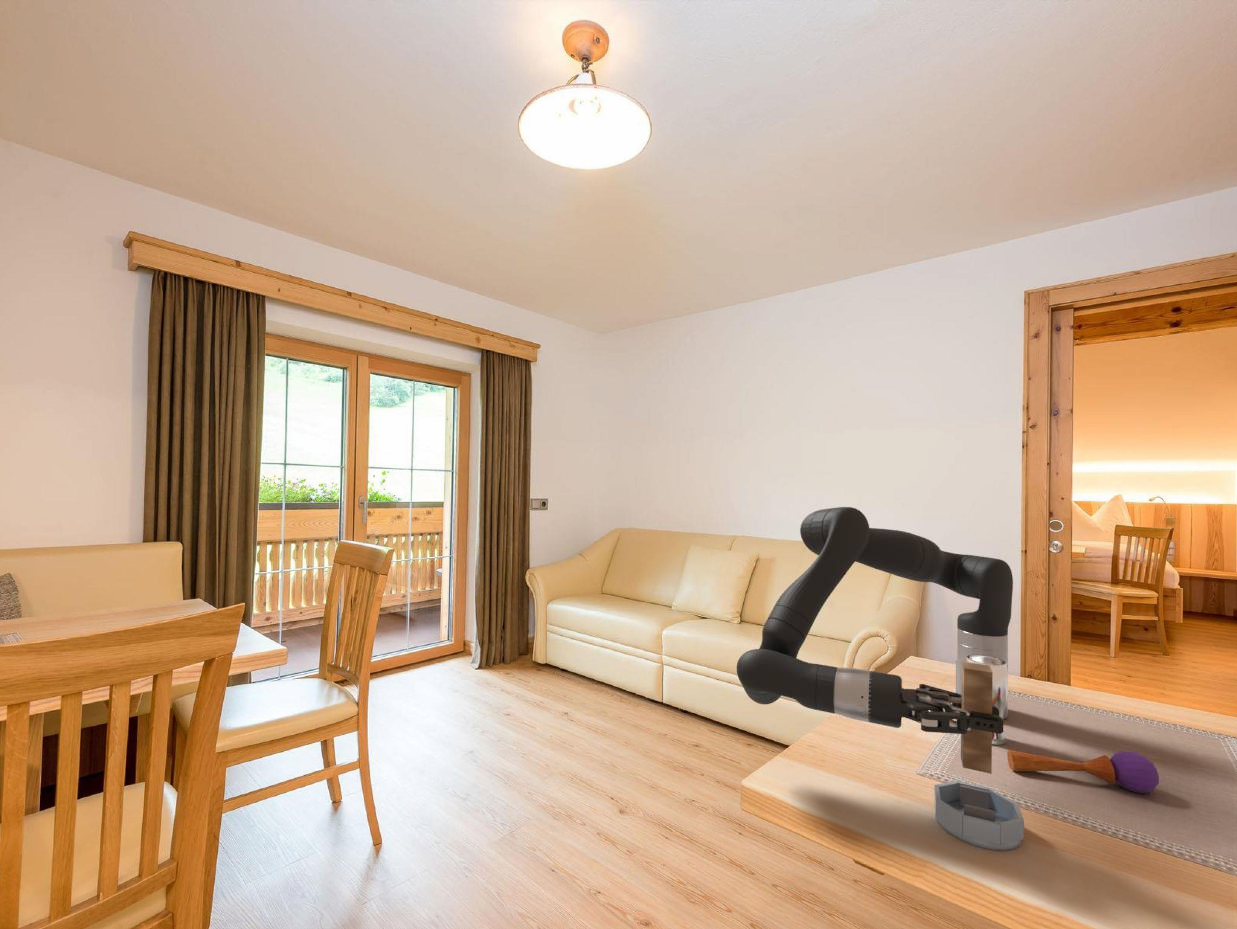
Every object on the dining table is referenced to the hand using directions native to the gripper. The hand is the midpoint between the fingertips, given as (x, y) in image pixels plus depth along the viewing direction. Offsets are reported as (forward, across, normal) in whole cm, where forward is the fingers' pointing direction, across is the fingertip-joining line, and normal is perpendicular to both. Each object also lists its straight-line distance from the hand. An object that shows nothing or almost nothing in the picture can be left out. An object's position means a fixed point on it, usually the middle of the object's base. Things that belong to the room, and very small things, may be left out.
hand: (999, 719), depth 79 cm
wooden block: (-3, 0, +7) cm, 8 cm away
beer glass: (+2, +34, +16) cm, 38 cm away
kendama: (+14, +24, +16) cm, 32 cm away
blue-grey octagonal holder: (-3, 0, +16) cm, 16 cm away
